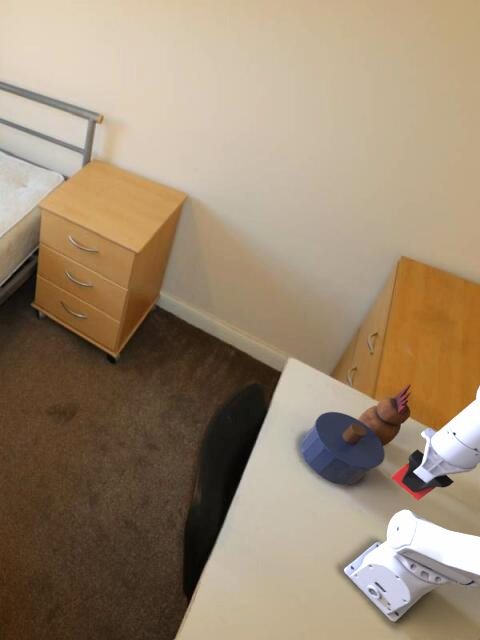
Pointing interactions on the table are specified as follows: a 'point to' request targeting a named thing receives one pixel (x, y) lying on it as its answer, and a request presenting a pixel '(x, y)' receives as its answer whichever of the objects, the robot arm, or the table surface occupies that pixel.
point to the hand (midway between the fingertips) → (417, 479)
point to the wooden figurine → (387, 416)
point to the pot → (328, 462)
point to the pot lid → (349, 440)
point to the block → (398, 478)
